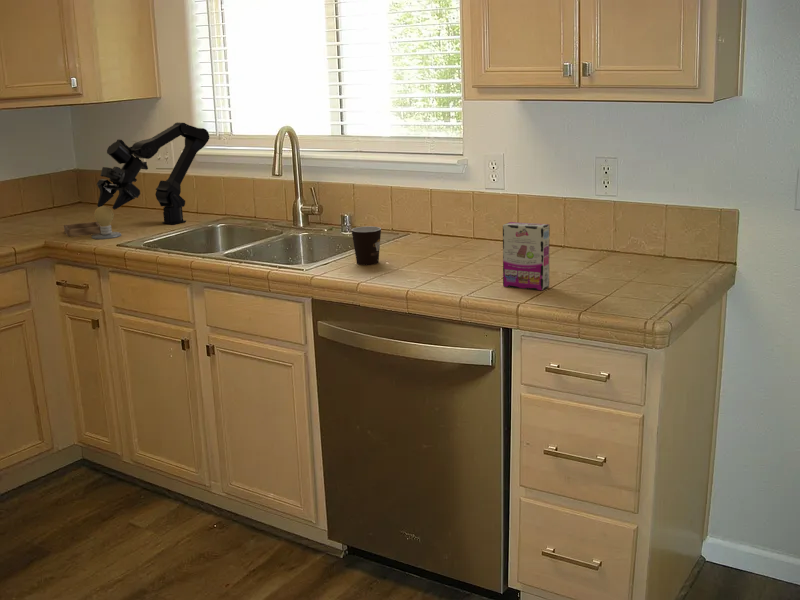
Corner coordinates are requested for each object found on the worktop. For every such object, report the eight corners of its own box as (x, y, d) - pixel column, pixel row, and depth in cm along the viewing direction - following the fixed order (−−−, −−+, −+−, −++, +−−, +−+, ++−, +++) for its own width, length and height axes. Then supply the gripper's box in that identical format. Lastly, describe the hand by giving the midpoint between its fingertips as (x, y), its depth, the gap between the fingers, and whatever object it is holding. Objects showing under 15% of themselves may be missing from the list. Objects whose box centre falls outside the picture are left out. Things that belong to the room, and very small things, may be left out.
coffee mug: (364, 267, 260) (363, 233, 257) (347, 262, 266) (345, 229, 264) (396, 260, 267) (395, 227, 264) (378, 256, 274) (376, 223, 271)
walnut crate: (97, 228, 334) (96, 221, 334) (102, 233, 324) (101, 226, 324) (64, 231, 330) (63, 225, 329) (68, 237, 320) (67, 230, 319)
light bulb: (105, 232, 323) (101, 204, 320) (120, 232, 320) (115, 204, 317) (93, 236, 317) (88, 207, 314) (107, 236, 315) (103, 208, 312)
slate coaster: (109, 232, 325) (109, 230, 325) (127, 235, 320) (127, 233, 320) (85, 237, 318) (85, 235, 317) (103, 240, 312) (103, 238, 312)
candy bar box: (550, 286, 233) (550, 223, 229) (542, 291, 229) (543, 227, 224) (510, 282, 238) (509, 220, 234) (502, 286, 234) (501, 224, 230)
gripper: (97, 156, 322) (74, 192, 317) (128, 159, 310) (104, 196, 305) (119, 175, 330) (97, 210, 325) (150, 178, 318) (127, 215, 313)
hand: (105, 207), depth 317 cm, fingers open, 9 cm apart
